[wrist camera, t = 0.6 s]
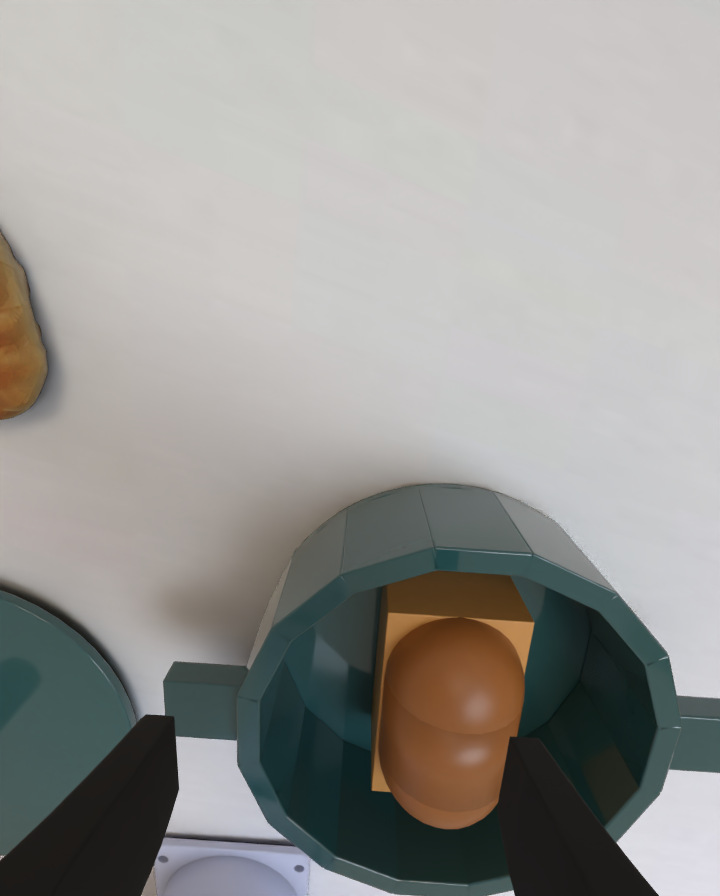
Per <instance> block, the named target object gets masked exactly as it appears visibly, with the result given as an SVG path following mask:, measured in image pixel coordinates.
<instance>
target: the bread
mask: <svg viewBox="0 0 720 896" xmlns="http://www.w3.org/2000/svg"><path fill="white" fill-rule="evenodd" d="M533 628H534V621H533V619H532V617H531V615H530V613H529V611H528V609H527V607H526V605H525V603H524V601H523V599H522V598H521V596H520V594H519V592H518V590H517V588H516V586H515V584H514V582H513V580H512V578H511V576H510V575H495V574H480V573H465V572H450V571H434V572H430V573H427V574H423V575H420V576H416V577H413V578H409V579H406V580H402V581H399V582H395V583H392V584H388V585H385V586H382V596H381V608H380V619H379V630H378V642H377V653H376V665H375V676H374V687H373V699H372V710H371V790H372V791H384V792H391V793H392V794H393V796H394V797H395V799H396V800H397V801H398V802H399V804H400V805H401V806H402V807H403V808H404V810H406V811H407V812H408V813H409V814H410V815H412V816H413V817H414V818H416V819H418V820H419V821H421V822H423V823H425V824H427V825H430V826H433V827H435V828H441V829H460V828H464V827H468V826H470V825H472V824H474V823H476V822H478V821H480V820H482V819H483V818H485V817H486V816H487V815H488V814H489V813H490V812H491V811H492V810H493V809H494V807H495V806H496V805H497V803H498V800H499V794H500V788H501V783H502V777H503V772H504V766H505V761H506V755H507V749H508V744H509V738H510V736H512V737H517V733H518V728H519V723H520V718H521V713H522V708H523V703H524V692H525V678H524V675H525V669H526V664H527V659H528V654H529V649H530V644H531V639H532V634H533Z"/></svg>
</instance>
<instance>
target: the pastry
mask: <svg viewBox="0 0 720 896" xmlns="http://www.w3.org/2000/svg"><path fill="white" fill-rule="evenodd" d="M29 293H30V289H29V286H28V282H27V279H26V275H25V272H24V270H23V268H22V267H21V265H20V264H19V263H18V262H17V261H16V260H15V257H14V256H13V254H12V251H11V248H10V246H9V244H8V242H7V241H6V239H5V238H4V236H3V235H2V233H1V232H0V420H3V419H9V418H13V417H15V416H17V415H19V414H22V413H23V412H25V411H26V410H28V409H29V408H30V407H31V406H32V405H33V404H34V402H35V401H36V399H37V397H38V396H39V394H40V391H41V389H42V387H43V385H44V382H45V379H46V376H47V372H48V365H47V360H46V352H47V351H46V350H45V348H44V346H43V344H42V342H41V330H40V327H39V325H38V324H37V323H36V322H35V319H34V315H33V311H32V308H31V304H30V300H29Z"/></svg>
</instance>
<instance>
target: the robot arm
mask: <svg viewBox="0 0 720 896" xmlns="http://www.w3.org/2000/svg"><path fill="white" fill-rule="evenodd" d="M178 791H179V782H178V767H177V751H176V736H175V721H174V716H162V715H145V716H144V717H142V718H141V719H140V720H139V721H138V722H137V724H136V725H135V726H134V727H133V728H132V729H131V730H130V731H129V732H128V733H127V734H126V735H125V736H124V738H123V739H122V740H121V741H120V742H119V743H118V744H117V745H116V746H115V747H114V748H113V749H112V750H111V751H110V753H109V754H108V755H107V756H106V757H105V758H104V759H103V760H102V761H101V762H100V763H99V764H98V765H97V766H96V767H95V768H94V769H93V770H92V771H91V773H90V774H89V775H88V776H87V777H86V778H85V779H84V780H83V781H82V782H81V783H80V784H79V785H78V786H77V787H76V788H75V789H74V790H73V791H72V792H71V793H70V794H69V795H68V796H67V797H66V798H65V799H64V800H63V801H62V802H61V803H60V804H59V805H58V806H57V807H56V808H55V809H54V810H53V811H52V812H51V813H50V814H49V815H48V816H47V817H46V818H45V819H44V820H43V821H42V822H41V823H40V824H39V825H38V826H36V827H35V828H34V829H33V830H32V831H31V832H30V833H29V834H28V835H27V836H26V837H25V838H24V839H23V840H22V841H21V842H20V843H18V844H17V845H16V846H15V847H14V848H13V849H12V850H11V851H10V852H9V853H8V854H7V855H6V856H5V857H4V858H3V859H1V860H0V896H141V894H142V891H143V889H144V887H145V884H146V882H147V879H148V877H149V875H150V872H151V870H152V867H153V865H154V866H155V878H156V891H157V896H308V884H309V863H310V857H309V856H307V855H306V854H305V853H304V852H303V851H301V850H300V849H299V848H298V847H295V846H280V845H265V844H251V843H236V842H221V841H207V840H192V839H178V838H164V836H165V833H166V830H167V826H168V823H169V820H170V817H171V814H172V810H173V807H174V804H175V801H176V797H177V794H178ZM497 812H498V818H499V824H500V829H501V835H502V841H503V846H504V851H505V857H506V862H507V867H508V871H509V875H510V879H511V882H512V886H513V890H514V893H515V896H659V895H658V894H657V893H656V892H655V890H654V889H653V888H652V887H651V886H650V884H649V883H648V882H647V881H646V880H645V878H644V877H643V876H642V875H641V874H640V872H639V871H638V870H637V869H636V867H635V866H634V865H633V864H632V862H631V861H630V860H629V859H628V857H627V856H626V855H625V854H624V852H623V851H622V850H621V848H620V847H619V846H618V845H617V843H616V842H615V841H614V839H613V838H612V837H611V836H610V834H609V833H608V832H607V830H606V829H605V828H604V827H603V825H602V824H601V823H600V821H599V820H598V819H597V817H596V816H595V815H594V813H593V812H592V811H591V809H590V808H589V807H588V805H587V804H586V803H585V801H584V800H583V799H582V797H581V796H580V794H579V793H578V792H577V790H576V789H575V788H574V786H573V785H572V784H571V782H570V781H569V779H568V778H567V777H566V775H565V774H564V772H563V771H562V770H561V768H560V767H559V765H558V764H557V763H556V761H555V760H554V758H553V757H552V756H551V754H550V753H549V751H548V750H547V748H546V747H545V746H544V744H543V743H542V742H541V741H540V739H539V738H528V737H512V736H510V738H509V744H508V749H507V755H506V761H505V766H504V772H503V777H502V783H501V788H500V794H499V800H498V805H497Z"/></svg>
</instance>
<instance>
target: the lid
mask: <svg viewBox="0 0 720 896" xmlns="http://www.w3.org/2000/svg"><path fill="white" fill-rule="evenodd" d="M136 724H137V723H136V718H135V715H134V712H133V709H132V705H131V702H130V700H129V698H128V696H127V694H126V692H125V690H124V688H123V686H122V684H121V682H120V680H119V679H118V677H117V676H116V674H115V673H114V671H113V670H112V668H111V667H110V665H109V664H108V663H107V662H106V661H105V660H104V658H103V657H102V656H101V655H100V654H99V653H98V651H97V650H96V649H95V648H94V647H93V646H92V645H91V644H90V643H89V642H87V641H86V640H85V639H84V638H83V637H82V636H81V635H80V634H79V633H78V632H76V631H75V630H74V629H72V628H71V627H70V626H68V625H67V624H66V623H64V622H63V621H62V620H60V619H59V618H57V617H56V616H54V615H52V614H51V613H49V612H47V611H46V610H44V609H42V608H41V607H39V606H37V605H35V604H33V603H31V602H29V601H26V600H24V599H22V598H20V597H18V596H16V595H13V594H10V593H7V592H5V591H2V590H0V855H3V856H6V855H7V854H8V853H9V852H10V851H11V850H12V849H13V848H14V847H15V846H16V845H17V844H18V843H20V842H21V841H22V840H23V839H24V838H25V837H26V836H27V835H28V834H29V833H30V832H31V831H32V830H33V829H34V828H35V827H36V826H38V825H39V824H40V823H41V822H42V821H43V820H44V819H45V818H46V817H47V816H48V815H49V814H50V813H51V812H52V811H53V810H54V809H55V808H56V807H57V806H58V805H59V804H60V803H61V802H62V801H63V800H64V799H65V798H66V797H67V796H68V795H69V794H70V793H71V792H72V791H73V790H74V789H75V788H76V787H77V786H78V785H79V784H80V783H81V782H82V781H83V780H84V779H85V778H86V777H87V776H88V775H89V774H90V773H91V771H92V770H93V769H94V768H95V767H96V766H97V765H98V764H99V763H100V762H101V761H102V760H103V759H104V758H105V757H106V756H107V755H108V754H109V753H110V751H111V750H112V749H113V748H114V747H115V746H116V745H117V744H118V743H119V742H120V741H121V740H122V739H123V738H124V736H125V735H126V734H127V733H128V732H129V731H130V730H131V729H132V728H133V727H134V726H135V725H136Z"/></svg>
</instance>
